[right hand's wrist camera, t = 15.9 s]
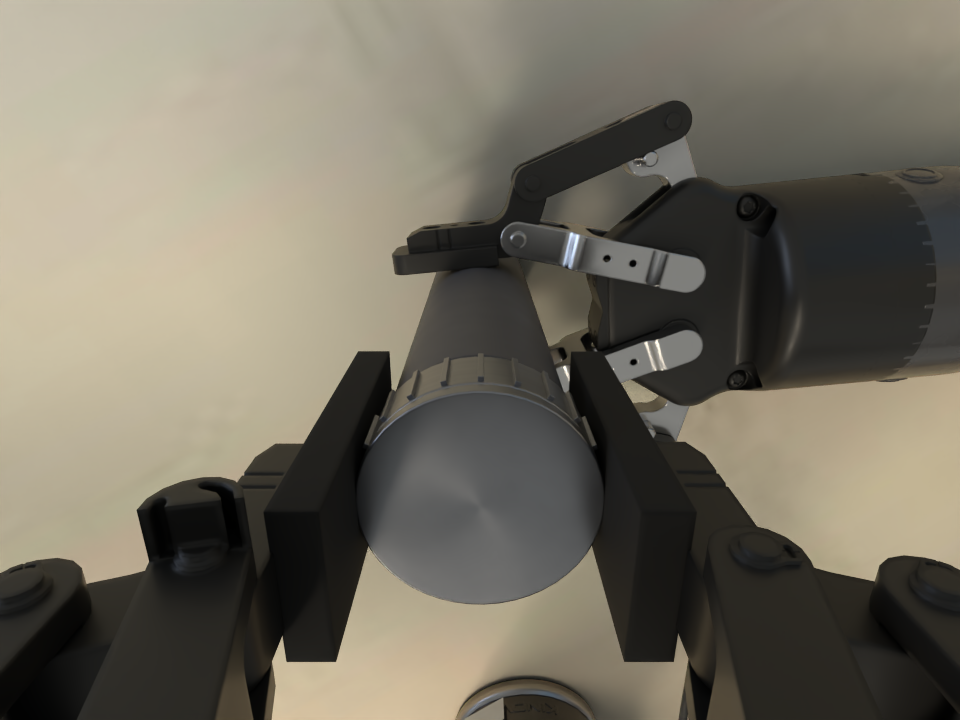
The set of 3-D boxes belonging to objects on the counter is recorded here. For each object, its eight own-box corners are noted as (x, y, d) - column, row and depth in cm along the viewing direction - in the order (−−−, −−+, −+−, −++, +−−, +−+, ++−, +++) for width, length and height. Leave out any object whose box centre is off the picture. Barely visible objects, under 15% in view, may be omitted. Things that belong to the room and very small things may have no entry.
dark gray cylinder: (540, 277, 28) (634, 481, 11) (481, 336, 29) (483, 605, 12) (478, 217, 27) (476, 337, 10) (419, 280, 28) (326, 487, 11)
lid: (517, 307, 11) (524, 335, 9) (631, 487, 12) (654, 540, 10) (322, 425, 12) (296, 470, 10) (448, 581, 13) (444, 643, 11)
